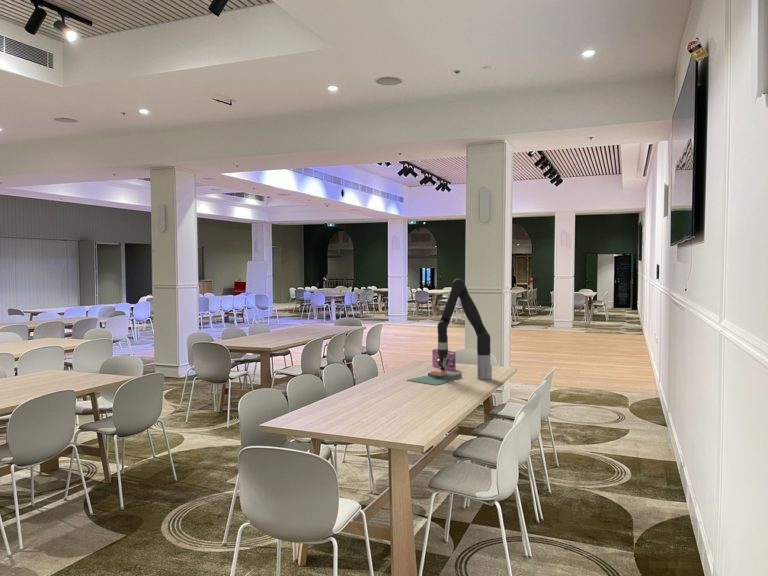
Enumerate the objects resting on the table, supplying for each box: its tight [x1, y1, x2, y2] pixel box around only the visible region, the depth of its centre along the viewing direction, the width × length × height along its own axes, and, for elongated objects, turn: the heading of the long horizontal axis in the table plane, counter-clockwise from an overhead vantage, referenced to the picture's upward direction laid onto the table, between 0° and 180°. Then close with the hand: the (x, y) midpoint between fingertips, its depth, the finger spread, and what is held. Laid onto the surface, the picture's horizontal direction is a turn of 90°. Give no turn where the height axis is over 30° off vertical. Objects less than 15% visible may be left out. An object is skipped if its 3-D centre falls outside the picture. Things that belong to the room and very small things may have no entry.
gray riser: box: [427, 370, 463, 380], centre depth 413 cm, size 20×14×3 cm
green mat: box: [406, 375, 455, 386], centre depth 400 cm, size 26×20×1 cm
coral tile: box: [430, 369, 448, 376], centre depth 407 cm, size 9×7×2 cm
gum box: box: [431, 348, 457, 371], centre depth 451 cm, size 24×8×14 cm, turn 27°
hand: (443, 372), depth 411 cm, fingers closed
